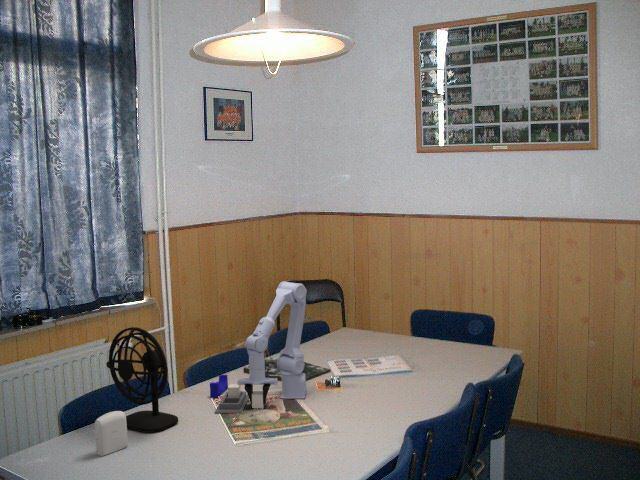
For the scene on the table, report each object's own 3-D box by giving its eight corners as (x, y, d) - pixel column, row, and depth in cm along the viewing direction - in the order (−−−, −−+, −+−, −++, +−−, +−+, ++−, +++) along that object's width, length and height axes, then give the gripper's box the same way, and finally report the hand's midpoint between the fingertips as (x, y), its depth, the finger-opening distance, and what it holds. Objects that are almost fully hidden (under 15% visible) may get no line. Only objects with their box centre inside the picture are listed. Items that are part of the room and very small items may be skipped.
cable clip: (217, 388, 291) (216, 374, 290) (227, 389, 290) (227, 374, 289) (206, 398, 279) (206, 383, 278) (217, 398, 278) (217, 383, 278)
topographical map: (296, 386, 293) (296, 379, 292) (239, 373, 313) (239, 366, 313) (335, 371, 313) (335, 364, 312) (279, 359, 333) (279, 353, 333)
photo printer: (102, 457, 224) (99, 418, 223) (94, 454, 227) (92, 416, 226) (130, 447, 232) (128, 409, 231) (122, 444, 235) (120, 407, 233)
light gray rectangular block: (264, 405, 269) (264, 391, 268) (263, 409, 265) (262, 394, 264) (253, 405, 269) (253, 391, 268) (252, 409, 265) (251, 394, 264)
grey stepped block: (250, 395, 280) (249, 380, 280) (242, 413, 260) (241, 397, 260) (224, 395, 281) (224, 380, 280) (214, 413, 261) (213, 397, 260)
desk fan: (99, 426, 252) (93, 327, 248) (136, 410, 266) (131, 317, 263) (157, 439, 238) (151, 335, 234) (192, 422, 252) (188, 324, 249)
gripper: (235, 370, 262) (236, 407, 263) (275, 370, 261) (276, 407, 262) (238, 365, 269) (240, 400, 270) (277, 365, 268) (278, 400, 269)
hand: (258, 403), depth 266 cm, fingers closed on light gray rectangular block, 4 cm apart
